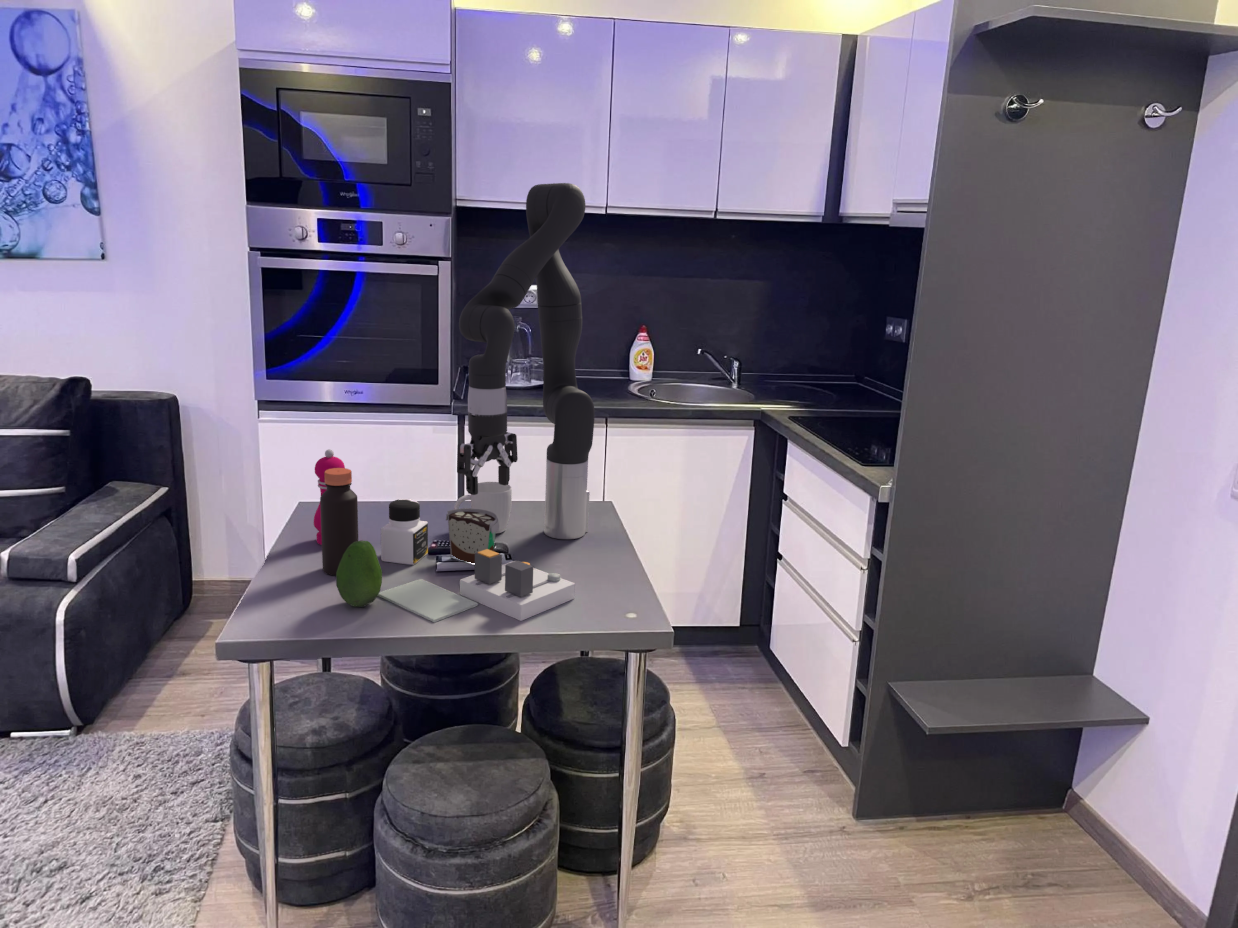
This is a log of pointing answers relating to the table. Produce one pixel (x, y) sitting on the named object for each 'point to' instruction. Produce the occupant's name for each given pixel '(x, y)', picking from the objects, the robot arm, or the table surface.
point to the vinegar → (337, 517)
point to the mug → (491, 501)
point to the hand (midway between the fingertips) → (488, 489)
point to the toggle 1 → (488, 566)
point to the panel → (545, 596)
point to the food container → (471, 532)
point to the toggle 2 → (519, 578)
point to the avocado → (359, 574)
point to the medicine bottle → (404, 533)
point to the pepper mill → (320, 468)
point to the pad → (427, 600)
